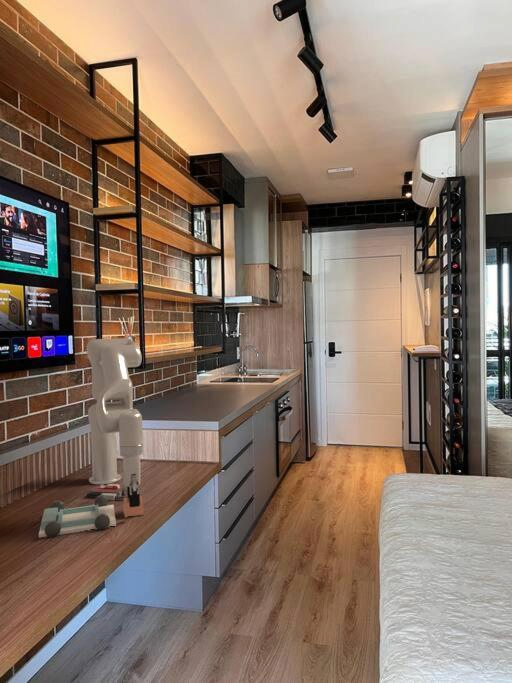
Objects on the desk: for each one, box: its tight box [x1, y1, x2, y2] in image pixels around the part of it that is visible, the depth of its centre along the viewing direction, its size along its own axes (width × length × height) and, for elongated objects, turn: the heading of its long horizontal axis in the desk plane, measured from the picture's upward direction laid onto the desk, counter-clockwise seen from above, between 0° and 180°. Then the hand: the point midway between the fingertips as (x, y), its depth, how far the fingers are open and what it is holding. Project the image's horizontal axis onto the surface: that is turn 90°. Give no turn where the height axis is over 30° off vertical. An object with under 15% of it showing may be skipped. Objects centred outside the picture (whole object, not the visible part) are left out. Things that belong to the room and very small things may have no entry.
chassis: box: [38, 495, 117, 539], centre depth 159 cm, size 21×22×4 cm
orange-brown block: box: [122, 495, 145, 518], centre depth 164 cm, size 5×6×5 cm
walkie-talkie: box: [86, 483, 128, 501], centre depth 183 cm, size 9×4×20 cm
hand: (133, 501), depth 164 cm, fingers open, 9 cm apart
